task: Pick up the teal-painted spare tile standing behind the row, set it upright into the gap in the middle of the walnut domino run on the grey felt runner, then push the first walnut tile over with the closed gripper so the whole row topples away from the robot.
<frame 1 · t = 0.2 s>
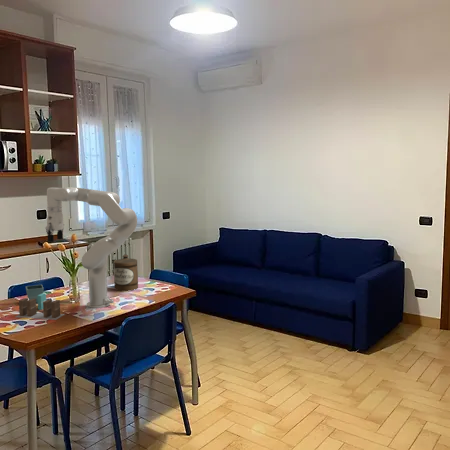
hand: (55, 240, 260), 36 cm above the table, tool pointing down, fingers open, 9 cm apart
domino 4: (32, 315, 241), resting on felt runner
flower pot: (35, 302, 266), on the table
teal domino: (42, 308, 253), on the table
domino 1: (56, 316, 239), resting on felt runner
felt runner: (40, 316, 240), on the table
domino 5: (24, 314, 242), resting on felt runner
wooden container: (126, 288, 298), on the table
domino 2: (48, 316, 239), resting on felt runner
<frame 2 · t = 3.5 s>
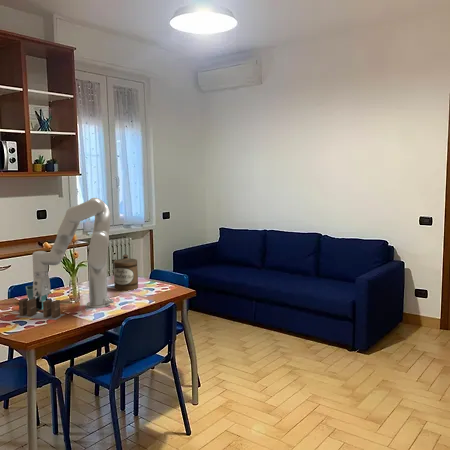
hand: (42, 306, 253), 1 cm above the table, tool pointing down, fingers closed on teal domino, 4 cm apart
teal domino: (42, 308, 253), on the table, touching gripper
everything else where it was.
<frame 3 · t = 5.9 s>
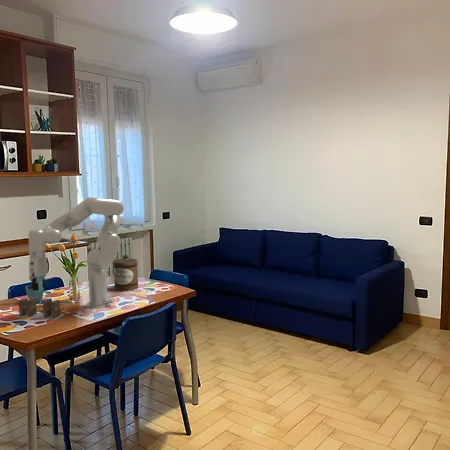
hand: (38, 288, 238), 15 cm above the table, tool pointing down, fingers closed on teal domino, 4 cm apart
teal domino: (38, 291, 239), point 13 cm above the table, touching gripper
everything else where it was.
when the fingers open (2 cm above the table, at t = 8.3 s): teal domino stays where it is, resting on felt runner.
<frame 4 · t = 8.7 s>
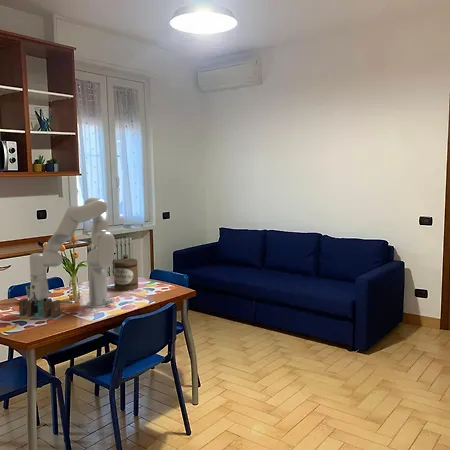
hand: (39, 310, 240), 3 cm above the table, tool pointing down, fingers open, 8 cm apart
teal domino: (39, 315, 240), resting on felt runner
everything else where it was.
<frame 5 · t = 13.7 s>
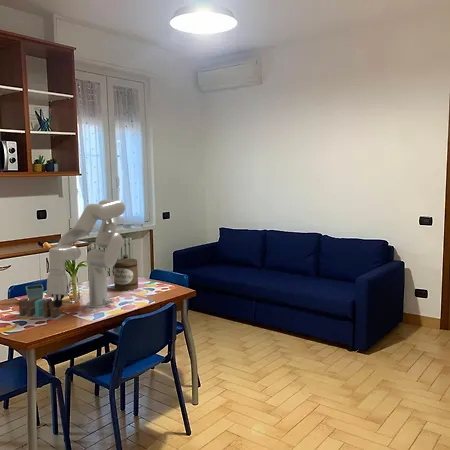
hand: (58, 307, 238), 5 cm above the table, tool pointing down, fingers closed
domino 1: (56, 316, 239), resting on felt runner, tilted 11°
everything else where it was.
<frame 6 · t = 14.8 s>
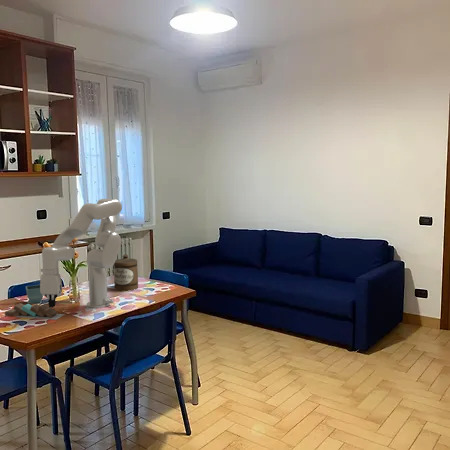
hand: (52, 306, 238), 5 cm above the table, tool pointing down, fingers closed
domino 4: (29, 313, 241), point 1 cm above the table, tilted 63°, touching domino 5, felt runner, teal domino
teal domino: (37, 313, 240), point 1 cm above the table, tilted 64°, touching domino 2, domino 4, felt runner
domino 1: (54, 314, 239), point 1 cm above the table, tilted 63°, touching domino 2, felt runner
domino 5: (21, 312, 242), point 1 cm above the table, tilted 93°, touching domino 4, felt runner
domino 2: (46, 314, 239), point 1 cm above the table, tilted 65°, touching domino 1, felt runner, teal domino
everything else where it was.
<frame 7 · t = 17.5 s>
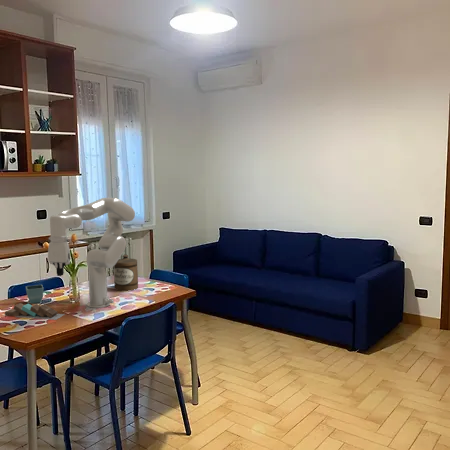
hand: (60, 275, 236), 22 cm above the table, tool pointing down, fingers closed
nothing on the table moved.
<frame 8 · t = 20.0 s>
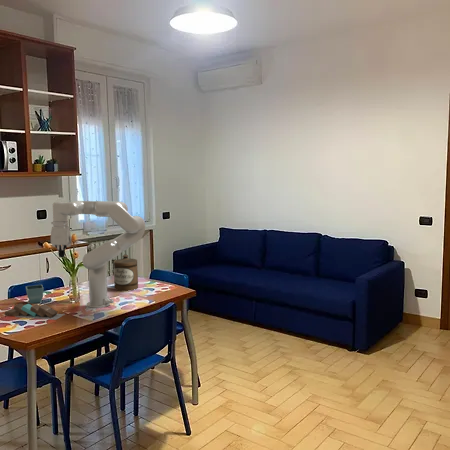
hand: (61, 256, 258), 27 cm above the table, tool pointing down, fingers closed
nothing on the table moved.
at the end: domino 5 tilted 93°; teal domino tilted 64°; teal domino inside the target area (0.3 cm from its centre), point 1.2 cm above the table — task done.
